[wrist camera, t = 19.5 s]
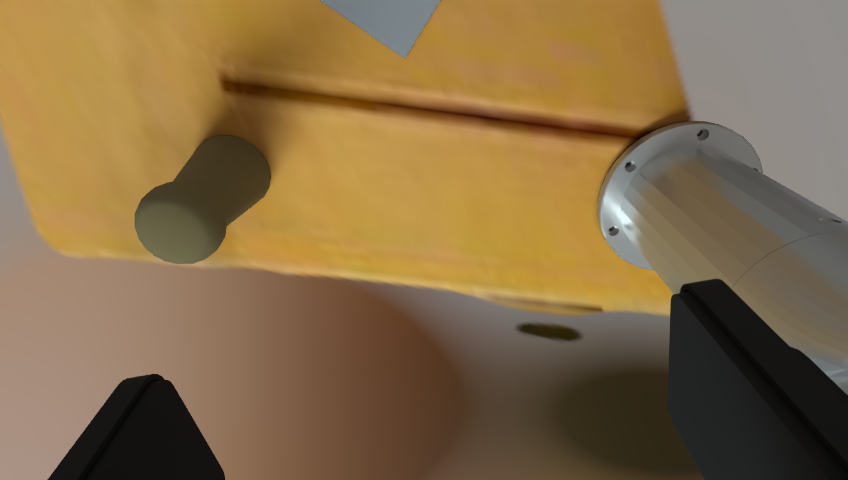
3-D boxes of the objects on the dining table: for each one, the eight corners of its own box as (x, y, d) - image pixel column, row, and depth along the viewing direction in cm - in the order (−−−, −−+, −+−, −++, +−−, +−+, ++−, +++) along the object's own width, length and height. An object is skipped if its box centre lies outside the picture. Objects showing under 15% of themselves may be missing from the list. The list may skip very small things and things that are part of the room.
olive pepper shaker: (188, 130, 38) (107, 182, 28) (269, 139, 38) (218, 194, 28) (196, 203, 40) (125, 274, 31) (271, 211, 41) (225, 284, 31)
